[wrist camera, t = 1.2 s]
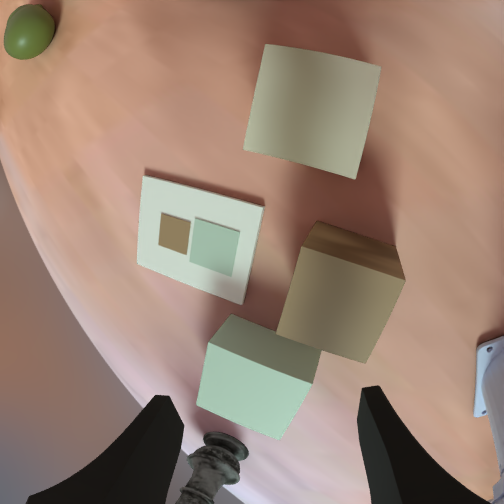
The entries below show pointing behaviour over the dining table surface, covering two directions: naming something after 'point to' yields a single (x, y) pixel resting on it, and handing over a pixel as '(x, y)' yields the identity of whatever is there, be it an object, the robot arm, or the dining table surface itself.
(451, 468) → the dining table surface
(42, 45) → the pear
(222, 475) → the dark green chess piece
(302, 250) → the walnut block
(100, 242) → the dining table surface
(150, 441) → the robot arm
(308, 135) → the ash block
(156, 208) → the card
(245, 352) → the base block
